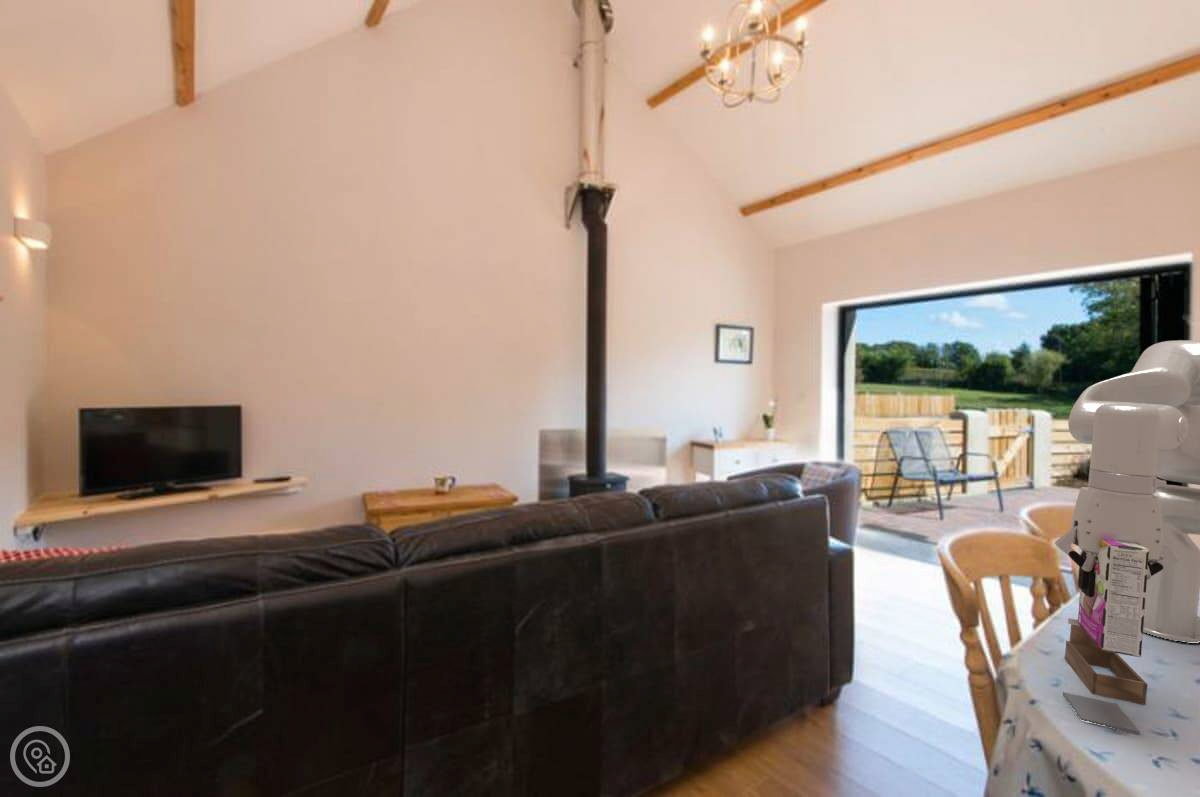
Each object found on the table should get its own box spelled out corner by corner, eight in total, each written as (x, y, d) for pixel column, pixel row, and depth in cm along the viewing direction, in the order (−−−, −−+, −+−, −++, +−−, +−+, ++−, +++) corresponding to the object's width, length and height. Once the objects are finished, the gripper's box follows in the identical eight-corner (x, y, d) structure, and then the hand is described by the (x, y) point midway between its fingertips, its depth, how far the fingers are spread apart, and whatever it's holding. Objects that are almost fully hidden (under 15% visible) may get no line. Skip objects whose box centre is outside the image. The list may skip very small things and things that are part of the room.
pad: (1116, 706, 92) (1116, 703, 92) (1139, 734, 85) (1139, 731, 85) (1062, 694, 95) (1063, 692, 95) (1081, 721, 88) (1081, 718, 88)
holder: (1111, 667, 105) (1115, 625, 104) (1145, 704, 93) (1150, 657, 93) (1064, 658, 108) (1068, 617, 107) (1091, 693, 96) (1096, 647, 95)
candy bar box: (1074, 623, 95) (1082, 527, 95) (1112, 630, 93) (1121, 532, 92) (1099, 650, 85) (1108, 542, 84) (1142, 659, 83) (1152, 548, 82)
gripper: (1179, 486, 88) (1168, 600, 89) (1045, 473, 95) (1036, 579, 96) (1208, 495, 81) (1195, 618, 82) (1060, 480, 88) (1050, 595, 89)
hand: (1109, 596), depth 89 cm, fingers closed on candy bar box, 5 cm apart
